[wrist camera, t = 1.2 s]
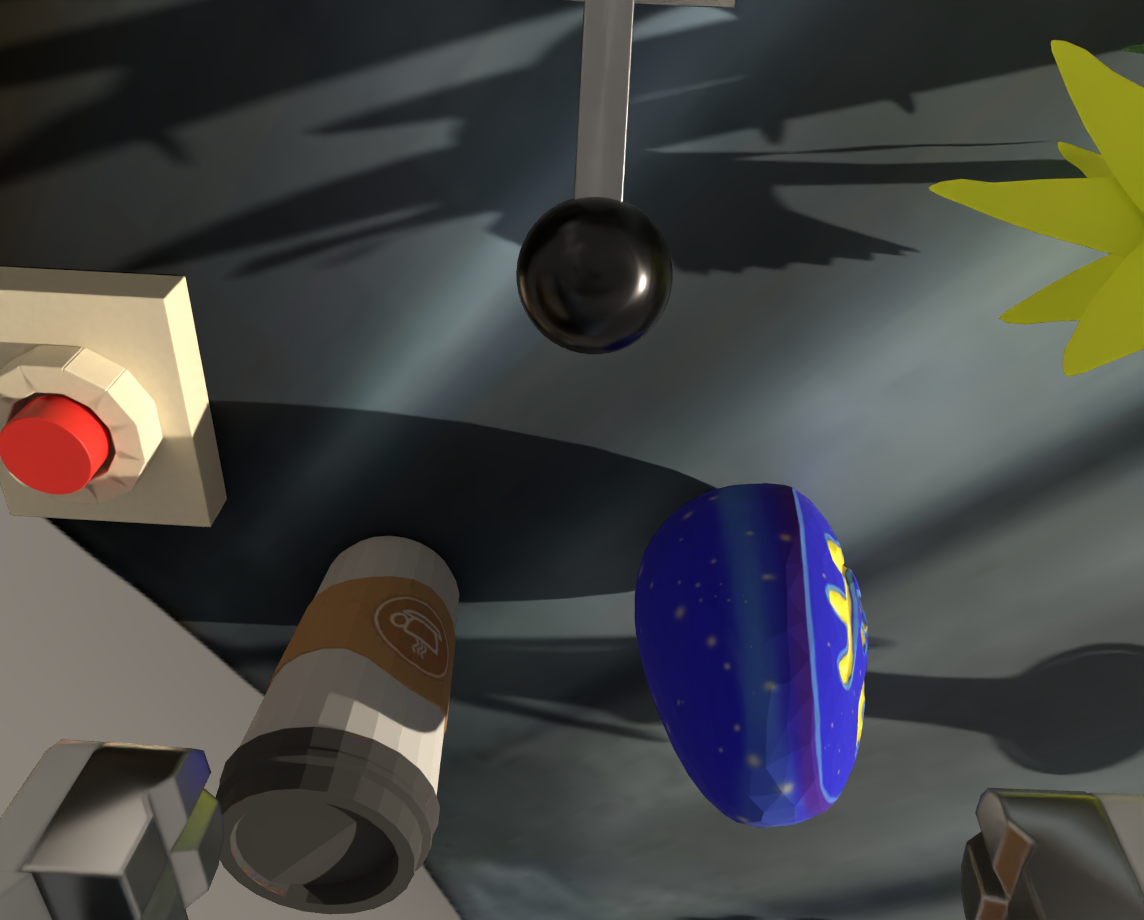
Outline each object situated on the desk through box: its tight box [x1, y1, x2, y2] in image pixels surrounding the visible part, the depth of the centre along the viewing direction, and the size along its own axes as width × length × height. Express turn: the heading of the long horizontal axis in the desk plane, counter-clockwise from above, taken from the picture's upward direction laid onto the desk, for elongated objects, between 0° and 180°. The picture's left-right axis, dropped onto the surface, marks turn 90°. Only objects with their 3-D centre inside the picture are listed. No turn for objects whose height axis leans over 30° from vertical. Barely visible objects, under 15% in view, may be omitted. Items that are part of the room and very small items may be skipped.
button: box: [0, 395, 110, 495], centre depth 40 cm, size 4×4×2 cm
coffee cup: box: [216, 536, 459, 914], centre depth 43 cm, size 8×8×15 cm
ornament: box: [635, 483, 868, 828], centre depth 40 cm, size 11×9×15 cm
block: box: [0, 267, 227, 527], centre depth 42 cm, size 11×9×4 cm
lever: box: [516, 0, 672, 354], centre depth 23 cm, size 13×4×4 cm, turn 178°
